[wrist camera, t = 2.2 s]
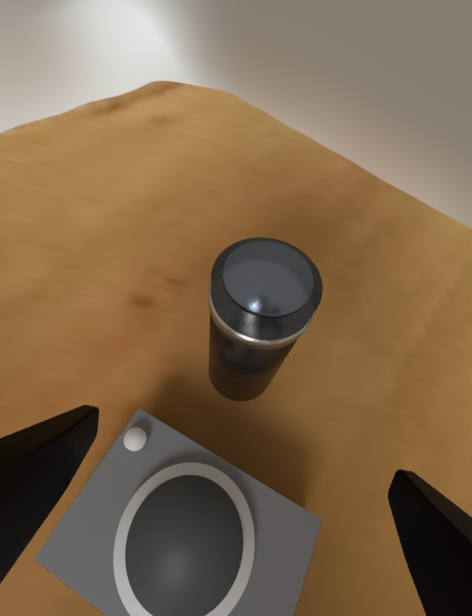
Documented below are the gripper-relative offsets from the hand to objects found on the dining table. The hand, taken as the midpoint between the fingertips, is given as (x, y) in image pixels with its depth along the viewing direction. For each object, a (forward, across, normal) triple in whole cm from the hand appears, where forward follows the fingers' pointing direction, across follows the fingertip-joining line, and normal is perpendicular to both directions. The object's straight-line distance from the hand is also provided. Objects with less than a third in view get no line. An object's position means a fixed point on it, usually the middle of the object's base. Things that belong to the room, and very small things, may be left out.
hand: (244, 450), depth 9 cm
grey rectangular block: (+7, +1, +12) cm, 13 cm away
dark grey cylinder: (+14, 0, +4) cm, 15 cm away
